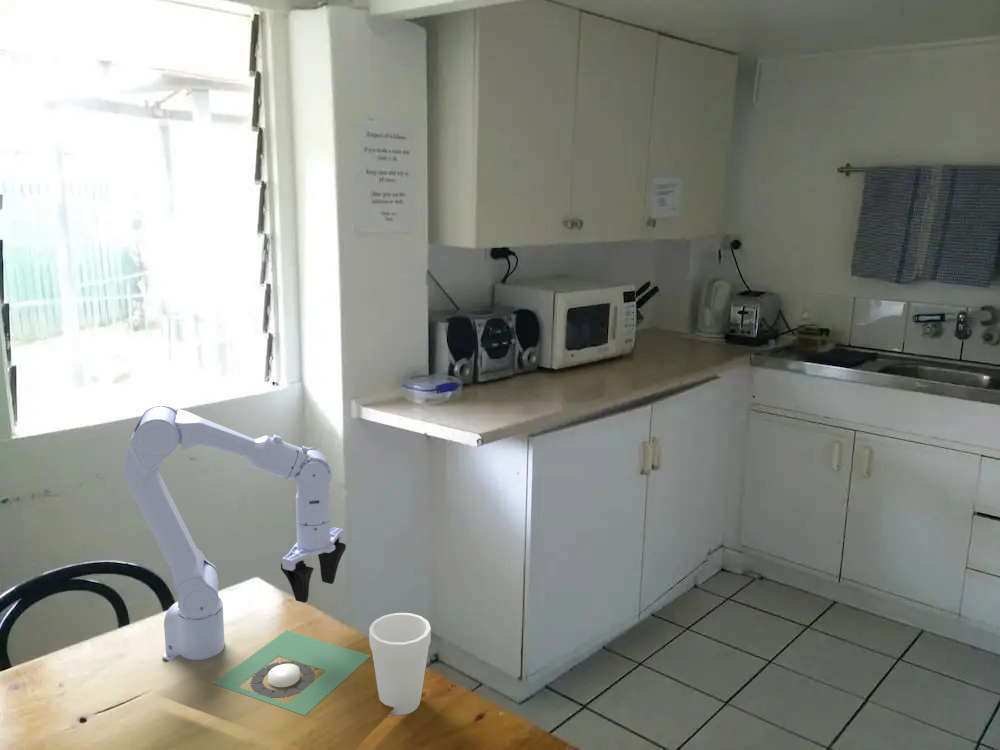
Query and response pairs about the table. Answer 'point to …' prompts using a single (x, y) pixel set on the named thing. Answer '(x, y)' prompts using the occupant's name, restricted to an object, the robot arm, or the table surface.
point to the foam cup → (400, 659)
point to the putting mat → (304, 653)
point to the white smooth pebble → (284, 675)
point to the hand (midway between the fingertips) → (315, 591)
